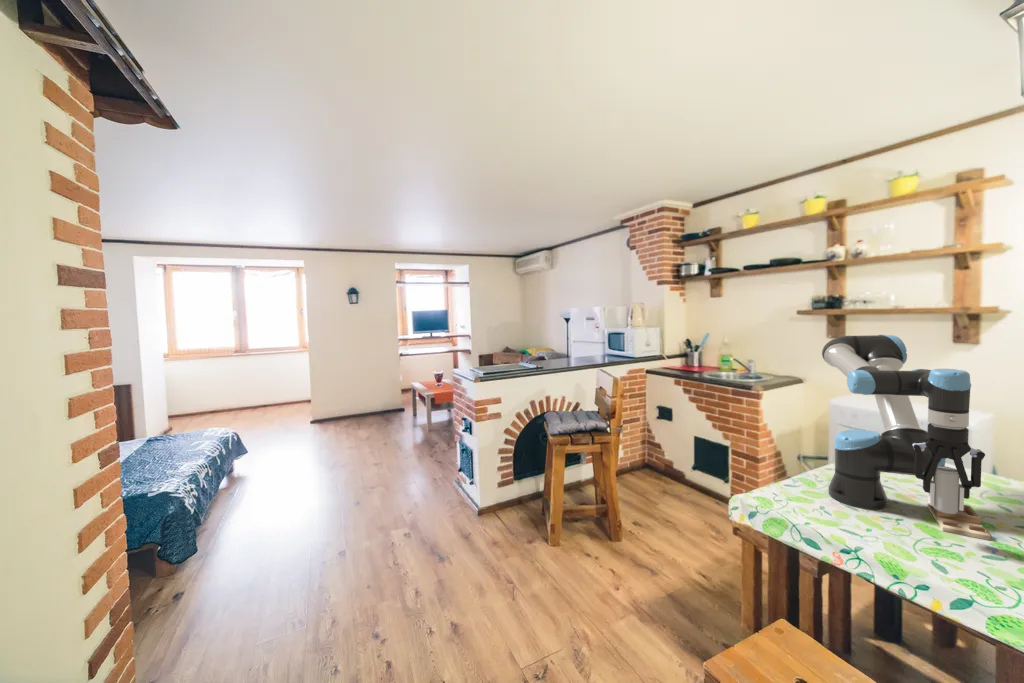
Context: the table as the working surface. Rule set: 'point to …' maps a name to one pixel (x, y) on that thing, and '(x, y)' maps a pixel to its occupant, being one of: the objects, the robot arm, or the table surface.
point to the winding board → (960, 522)
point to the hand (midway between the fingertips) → (945, 505)
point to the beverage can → (946, 489)
